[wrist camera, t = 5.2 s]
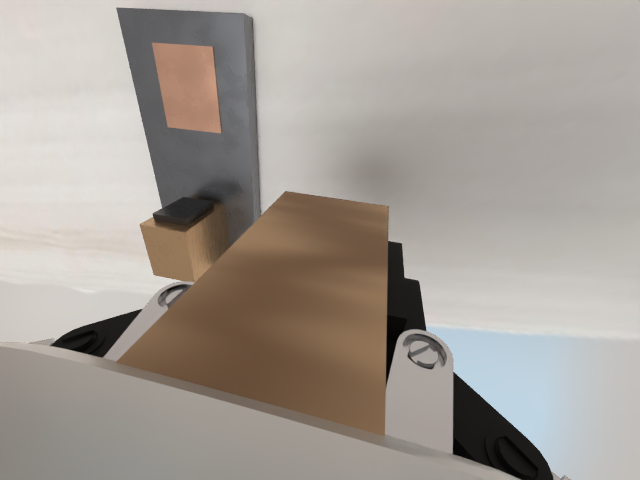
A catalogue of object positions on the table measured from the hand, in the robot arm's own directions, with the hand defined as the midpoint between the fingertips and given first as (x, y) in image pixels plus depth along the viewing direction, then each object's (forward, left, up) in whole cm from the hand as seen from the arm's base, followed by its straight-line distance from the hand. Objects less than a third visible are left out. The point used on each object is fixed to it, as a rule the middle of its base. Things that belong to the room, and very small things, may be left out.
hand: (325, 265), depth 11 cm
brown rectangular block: (0, 0, -1) cm, 1 cm away
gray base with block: (+14, +1, -15) cm, 21 cm away
